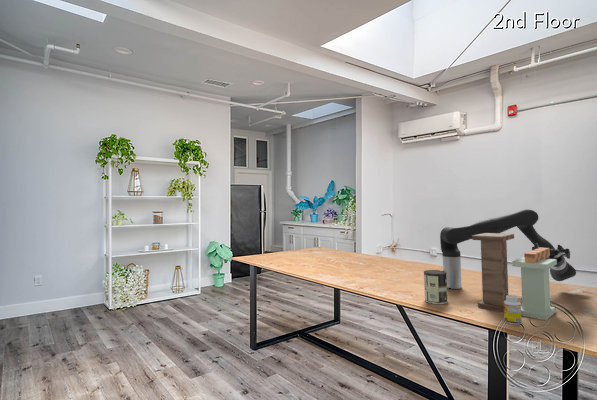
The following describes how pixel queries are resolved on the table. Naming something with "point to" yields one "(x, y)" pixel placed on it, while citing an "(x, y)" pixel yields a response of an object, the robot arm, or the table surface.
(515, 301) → the supplement bottle
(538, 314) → the low stand
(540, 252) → the block
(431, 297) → the coffee can
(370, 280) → the table surface
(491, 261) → the tall stand
